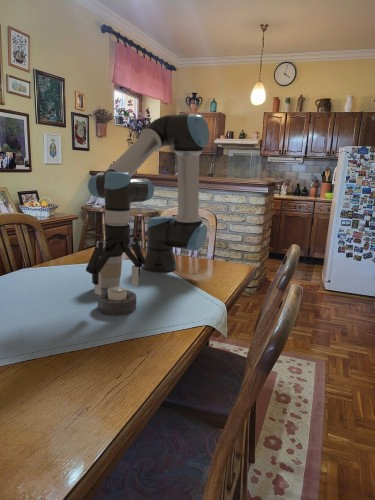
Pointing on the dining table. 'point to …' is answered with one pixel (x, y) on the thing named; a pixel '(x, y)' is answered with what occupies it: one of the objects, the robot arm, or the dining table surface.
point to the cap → (117, 293)
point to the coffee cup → (111, 271)
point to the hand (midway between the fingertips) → (117, 289)
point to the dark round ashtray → (116, 304)
